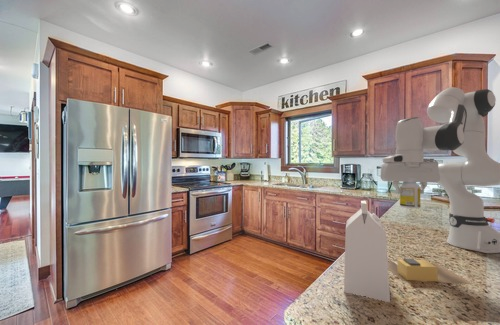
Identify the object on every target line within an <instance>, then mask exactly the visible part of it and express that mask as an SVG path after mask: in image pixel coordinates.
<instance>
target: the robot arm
mask: <svg viewBox="0 0 500 325" xmlns="http://www.w3.org/2000/svg"><path fill="white" fill-rule="evenodd" d="M496 102H497V100H496V95H495V94H494V92H493V91H492V90H490V89H488V88H485V89H484V88H483V89H477V90H475V91H470V92H466V93H465V91H464V90H463V89H461V88H460V87H454V86H451V87H447V88H445V89H444V90H442V91H440V92H439V93H438V94H437V95H436V96H435V97H434V98H433V99H432V100H431V101H430V102H429V104H428V106H427V109H426V114H427V116H428V118H429V119H430V120H431V121H433V122H435V123H438V124H439V125H435V126H428V127H424V126H423V122H422V119H421V117H416V116H414V117H410V118H404V119H400V120H399V121H397V124H396V128H395V143H396V148H395V154H391V155H389V156H386V157H383V158H382V163H383V164H382V165H381V167H380V168H381V169H380V180H382V182H392V185H393V187H394V188H395V193H396V194H400V193H402V189H400V182H402V183H403V182H408V180H409V178H416V180H417V182H416V183H419V186H420V195H424V194H425V189H426V188H427V186H428V183H437V185H440V186H441V188H442V189H443V190H444V191H445V192H446V194H447V195H448V199H449V200H448V201H449V208H450V209H449V210H450V211H449V216H448V217H449V219H448V220H449V225H450V226H449V232H448V235H447V236H448V237H447V239H446V243H448V244H450V245H451V246H453V247H456V248H461V249H465V250H470V251H474V252H475V251H476V252H479V253H484V254H498V253H500V231H498V230H497V229H495V228H494V227H492V226H491V225H490V224H489V223H491V224H494V223H495V222H496V220H495V218H492V217H486V216H485V213H484V212H485V210H484V209H485V208H484V200H483V199H482V197H481V196H479V195H477V194H475V193H473V192H470V191H468V190H467V188H466V186H471V187H472V186H473V187H475V186H477V187H490V186H491V187H492V186H500V162H499V161H496V160H494V159H493V158H492V157H490V155H489V154H488V152H487V150H486V124H485V119H484V118H485V117H487V115H488V114H489V113H491V111H492V110H493V109H494V108H495V105H496ZM440 124H441V125H440ZM432 151H433V152H435V151H437V152H438V151H452V152H453V153H454V154H456V155H457V156H460V157H463V158H465V159H467V160H466V161H449V162H448V161H447V162H440V163H439V162H438V160H437V159H434V158H424V152H432Z"/></svg>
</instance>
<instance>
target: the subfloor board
mask: <svg viewBox="0 0 500 325" xmlns="http://www.w3.org/2000/svg"><path fill="white" fill-rule="evenodd" d="M430 263H431V264H433V265H435V266H436V267H437V269H438V281H414V280H406V279H405V278H404V277H402V276H401V275H400V274H399V273H398V267H397V261H388V271H390V272H391V273H392V274H394V275H395V276H396V277H397V278H398V279H400V280H401V281H402V282H413V283H414V282H415V283H416V282H417V283H418V282H419V283H420V282H421V283H438V284H439V283H440V284H441V283H442V284H443V283H444V284H465V285H473V283H472V282H470V281H469V280H467V279H466V278H463V277H461V276H460V275H458V274H456V273H455V272H453V271H451V270H449V269H448V268H446V267H444V266H442V265H441V264H439V263H435V262H433V263H432V262H430Z"/></svg>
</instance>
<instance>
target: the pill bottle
mask: <svg viewBox="0 0 500 325" xmlns="http://www.w3.org/2000/svg"><path fill="white" fill-rule="evenodd" d="M420 186H421V185H420V184H418V182H417V180H416V178H409V180H408V182H402V183H401V184H399V188H400V189H402V193H399V206H400V207H402V208H406V209H413V210H414V209H415V210H417V209H420V208H421V194H420Z"/></svg>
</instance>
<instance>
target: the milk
mask: <svg viewBox="0 0 500 325" xmlns="http://www.w3.org/2000/svg"><path fill="white" fill-rule="evenodd" d="M367 206H368V205H367V201H366V200H360V209H359V210H358V211H357V212H355V213H354V214H352V215H351V216H350V217H349V218H348V219H347V220H346V222H345V236H344V238H345V243H344V244H345V245H344V282H343V283H344V284H343V293H346V294H350V293H353V294H352V295H355V294H356V296H359V295H361V296H360V297H363V296H366V297H365V298H368V297H369V298H368V299H372V298H374V299H373V300H377V299H379V300H378V301H381V300H382V302H386V303H391V293H390V279H389V278H390V276H389V269H388V262H389V259H388V246H387V245H388V244H387V243H388V242H387V233H386V229H385V228H384V225H383V223H382V222H381V218H379V216H378V215H377V214H376V213H374V212H373V213H371V212H370V211H369V210H368V207H367Z"/></svg>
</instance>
